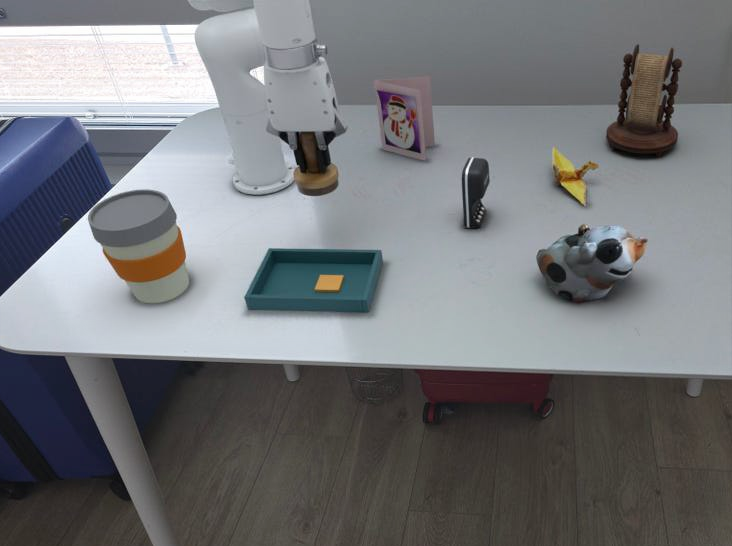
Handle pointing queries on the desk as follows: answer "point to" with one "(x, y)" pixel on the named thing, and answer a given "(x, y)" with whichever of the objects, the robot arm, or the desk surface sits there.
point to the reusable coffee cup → (142, 243)
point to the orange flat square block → (329, 283)
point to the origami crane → (571, 175)
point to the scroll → (646, 105)
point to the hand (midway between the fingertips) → (314, 168)
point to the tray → (314, 280)
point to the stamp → (314, 170)
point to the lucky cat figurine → (590, 261)
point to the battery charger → (474, 191)
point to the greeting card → (405, 115)
